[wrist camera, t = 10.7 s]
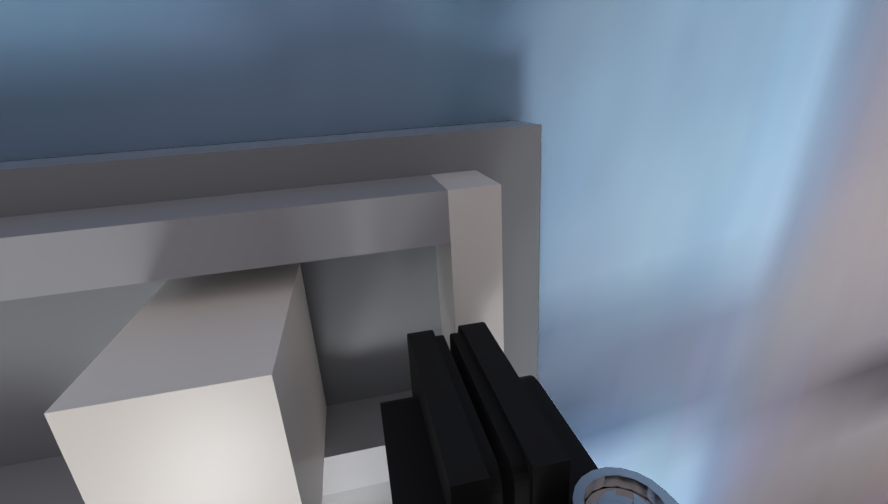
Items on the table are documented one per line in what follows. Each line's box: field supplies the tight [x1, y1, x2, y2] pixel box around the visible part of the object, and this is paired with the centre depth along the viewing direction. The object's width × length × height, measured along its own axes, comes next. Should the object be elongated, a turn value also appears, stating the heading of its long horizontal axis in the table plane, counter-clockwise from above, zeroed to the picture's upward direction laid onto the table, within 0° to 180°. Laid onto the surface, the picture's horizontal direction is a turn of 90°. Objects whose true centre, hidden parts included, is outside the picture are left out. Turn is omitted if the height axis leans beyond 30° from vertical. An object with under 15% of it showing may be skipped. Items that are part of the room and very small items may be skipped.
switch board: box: [0, 121, 541, 504], centre depth 12 cm, size 22×16×4 cm
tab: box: [44, 263, 327, 504], centre depth 9 cm, size 3×4×5 cm
